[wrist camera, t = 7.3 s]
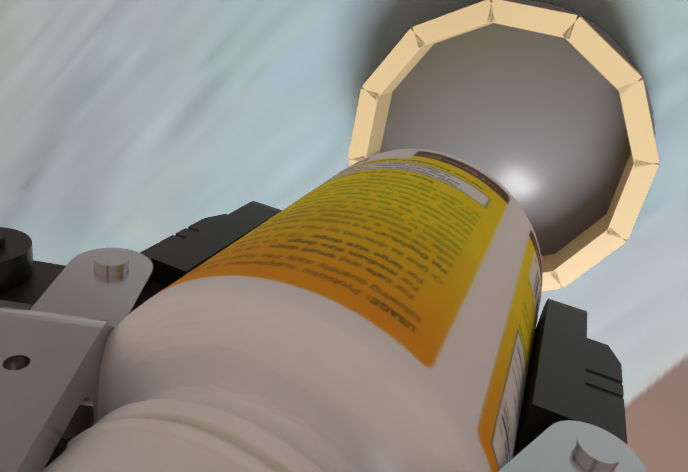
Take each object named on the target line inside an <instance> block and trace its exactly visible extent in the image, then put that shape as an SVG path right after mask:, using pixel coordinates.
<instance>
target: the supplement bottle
mask: <svg viewBox="0 0 688 472" xmlns="http://www.w3.org/2000/svg"><path fill="white" fill-rule="evenodd" d="M542 279H543V273H542V258H541V253H540V249H539V244H538V241H537V238H536V235H535V232H534V230H533V227H532V225H531V223H530V221H529V219H528V217H527V216H526V214H525V212H524V211H523V209H522V208H521V206H520V205H519V203H518V202H517V201H516V200H515V198H514V197H513V196H512V195H511V194H510V192H509V191H508V190H507V189H506V188H505V187H504V186H503V185H502V184H500V183H499V182H498V181H497V180H496V179H494V178H493V177H492V176H491V175H489V174H488V173H487V172H485V171H484V170H482V169H480V168H479V167H477V166H475V165H474V164H471V163H469V162H467V161H465V160H463V159H461V158H458V157H455V156H452V155H450V154H446V153H443V152H439V151H433V150H427V149H398V150H392V151H387V152H383V153H379V154H375V155H372V156H370V157H368V158H365V159H363V160H361V161H358V162H357V163H355V164H353V165H351V166H350V167H348V168H346V169H345V170H343V171H341V172H340V173H338V174H337V175H335V176H334V177H332V178H331V179H329V180H328V181H326V182H325V183H323V184H322V185H320V186H319V187H317V188H316V189H314V190H313V191H311V192H310V193H308V194H306V195H305V196H303V197H302V198H300V199H299V200H298V201H296V202H294V203H293V204H292V205H290V206H289V207H287V208H286V209H284V210H282V211H281V212H279V213H278V214H276V215H274V216H273V217H271V218H270V219H268V220H267V221H266V222H264V223H263V224H261V225H260V226H258V227H257V228H255V229H253V230H252V231H250V232H249V233H247V234H246V235H245V236H243V237H242V238H240V239H239V240H237V241H236V242H234V243H233V244H231V245H229V246H228V247H227V248H225V249H224V250H222V251H221V252H219V253H218V254H216V255H215V256H213V257H212V258H210V259H209V260H207V261H206V262H204V263H203V264H201V265H200V266H198V267H197V268H195V269H194V270H192V271H190V272H189V273H187V274H186V275H185V276H183V277H182V278H180V279H179V280H177V281H176V282H174V283H173V284H171V285H169V286H168V287H166V288H165V289H163V290H162V291H160V292H158V293H157V294H155V295H154V296H153V297H151V298H150V299H148V300H147V301H146V302H144V303H143V304H142V305H140V306H139V307H138V308H136V309H135V310H134V311H132V312H131V313H130V314H128V315H127V316H126V317H125V318H124V319H123V320H122V321H121V322H120V323H119V324H118V325H117V326H116V327H115V328H114V329H113V330H112V332H111V333H110V335H109V337H108V340H107V342H106V346H105V350H104V353H103V358H102V364H101V370H100V378H99V390H98V422H97V423H96V424H94V425H93V426H92V427H91V428H89V429H87V430H85V431H83V432H81V433H80V434H79V435H77V436H76V437H74V438H73V439H71V440H70V441H69V442H68V443H67V448H66V450H65V451H64V452H63V453H62V454H61V455H60V456H59V457H57V458H56V459H55V460H54V461H53V462H52V463H50V464H49V465H48V466H47V467H46V468H45V469H44V470H43V472H498V471H499V470H500V469H501V468H503V467H504V466H505V465H506V464H507V463H508V462H509V461H511V460H512V459H513V455H514V449H515V443H516V438H517V432H518V426H519V421H520V416H521V409H522V404H523V399H524V393H525V387H526V381H527V376H528V370H529V363H530V358H531V353H532V347H533V341H534V337H535V330H536V323H537V319H538V311H539V305H540V300H541V290H542Z"/></svg>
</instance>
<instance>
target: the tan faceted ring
mask: <svg viewBox="0 0 688 472" xmlns="http://www.w3.org/2000/svg"><path fill="white" fill-rule="evenodd" d="M362 87H363V88H362V89H361V91H360V96H359V101H358V107H357V112H356V117H355V123H354V128H353V133H352V139H351V144H350V149H349V155H348V158H350V159H349V160H348V162H349V165H350V166H351V165H353V164H355V163H357V162H358V161H361V160H363V159H365V158H368V157H370V156H372V155H375V154H379V153H383V152H387V151H392V150H398V149H427V150H433V151H439V152H443V153H446V154H450V155H452V156H455V157H458V158H461V159H463V160H465V161H467V162H469V163H471V164H474V165H475V166H477V167H479V168H480V169H482V170H484V171H485V172H487V173H488V174H489V175H491V176H492V177H493V178H494V179H496V180H497V181H498V182H499V183H500V184H502V185H503V186H504V187H505V188H506V189H507V190H508V191H509V192H510V194H511V195H512V196H513V197H514V198H515V200H516V201H517V202H518V203H519V205H520V206H521V208H522V209H523V211H524V212H525V214H526V216H527V217H528V219H529V221H530V223H531V225H532V227H533V230H534V232H535V235H536V238H537V241H538V244H539V249H540V253H541V258H542V273H543V279H542V290H541V291H548V290H555V289H561V286H562V287H563V288H564V287H565V286H567V285H568V284H569V283H571V282H572V281H573V280H575V279H576V278H578V277H579V276H580V275H582V274H583V273H584V272H586V271H587V270H588V269H590V268H591V267H593V266H594V265H595V264H597V263H598V262H599V261H601V260H602V259H604V258H605V257H606V256H608V255H609V254H610V253H612V252H613V251H614V250H616V249H617V248H619V247H620V246H621V245H623V244H624V243H625V242H626V239H627V240H628V238H629V236H630V233H631V231H632V229H633V226H634V224H635V221H636V219H637V217H638V214H639V212H640V210H641V207H642V205H643V202H644V200H645V198H646V195H647V193H648V190H649V188H650V186H651V183H652V181H653V179H654V176H655V174H656V171H657V169H658V167H659V164H658V163H659V158H658V153H657V148H656V143H655V127H654V118H653V111H652V107H651V104H650V100H649V96H648V93H647V90H646V88H645V86H644V81H643V79H642V77H641V75H640V74H639V73H638V71H637V69H636V68H635V66H634V65H633V63H632V62H631V60H630V59H629V57H628V55H627V54H626V53H625V52H624V51H623V50H622V48H621V47H620V46H619V45H618V44H617V43H616V42H615V41H614V39H613V38H611V37H610V36H609V35H608V34H607V33H606V32H604V31H603V30H602V29H601V28H600V27H598V26H597V25H595V24H594V23H592V22H591V21H589V20H587V19H586V18H584V17H582V16H581V15H579V14H576V13H574V12H572V11H569V10H567V9H565V8H562V7H559V6H556V5H552V4H548V3H544V2H540V1H532V0H485V1H482V2H478V3H474V4H471V5H468V6H464V7H461V8H458V9H456V10H453V11H451V12H449V13H447V14H444V15H442V16H440V17H438V18H435V19H433V20H430V21H427V22H424V23H422V24H419V25H416V26H413V28H410V29H409V31H408V32H407V33H406V34H405V35H404V37H403V38H402V39H401V40H400V41H399V43H398V44H397V45H396V46H395V47H394V49H393V50H392V51H391V52H390V53H389V55H388V56H387V57H386V58H385V59H384V61H383V62H382V63H381V64H380V65H379V67H378V68H377V69H376V70H375V71H374V73H373V74H372V75H371V76H370V77H369V79H368V80H367V81H366V82H365V83H364V85H363V86H362Z"/></svg>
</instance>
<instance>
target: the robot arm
mask: <svg viewBox="0 0 688 472" xmlns="http://www.w3.org/2000/svg"><path fill="white" fill-rule="evenodd" d="M281 211H282V210H279V209H276V208H273V207H270V206H267V205H264V204H261V203H258V202H255V201H252V202H250V203H248V204H246V205H244V206H243V207H241V208H239V209H237V210H235V211H234V212H232V213H230V214H228V215H227V214H223V215H218V216H213V217H208V218H204V219H202V220H200V221H198V222H196V223H194V224H193V225H191V226H189V227H188V229H186V228H185V229H183V230H181V231H180V232H178V233H176V235H175V236H174V235H172V236H170V237H168V238H166V239H165V240H163V241H161V242H159V243H157V244H155V245H153V246H152V247H150V248H148V249H146V250H144V251H142V252H140V253H138V252H136V251H132V250H128V249H121V248H101V249H95V250H90V251H87V252H84V253H82V254H79V255H77V256H76V257H74V258H73V259H72V260H71V261H70V262H69V263H68V265H67V266H64V265H58V264H52V263H46V262H40V261H34V260H33V254H32V241H31V238H30V237H29V236H28V235H26V234H25V233H23V232H21V231H18V230H15V229H10V228H3V227H0V472H43V470H44V469H45V468H46V467H47V466H48V465H49V464H50V463H52V462H53V461H54V460H55V459H56V458H57V457H59V456H60V455H61V454H62V453H63V452H64V451H65V450H66V448H67V443H68V442H69V441H70V440H71V439H73V438H74V437H76V436H77V435H79V434H80V433H81V432H83V431H85V430H87V429H89V428H91V427H92V426H93V425H94V424H96V423H97V422H98V390H99V378H100V370H101V364H102V358H103V353H104V350H105V346H106V342H107V340H108V337H109V335H110V333H111V332H112V330H113V329H114V328H115V327H116V326H117V325H118V324H119V323H120V322H121V321H122V320H123V319H124V318H125V317H126V316H127V315H128V314H130V313H131V312H132V311H134V310H135V309H136V308H138V307H139V306H140V305H142V304H143V303H144V302H146V301H147V300H148V299H150V298H151V297H153V296H154V295H155V294H157V293H158V292H160V291H162V290H163V289H165V288H166V287H168V286H169V285H171V284H173V283H174V282H176V281H177V280H179V279H180V278H182V277H183V276H185V275H186V274H187V273H189V272H190V271H192V270H194V269H195V268H197V267H198V266H200V265H201V264H203V263H204V262H206V261H207V260H209V259H210V258H212V257H213V256H215V255H216V254H218V253H219V252H221V251H222V250H224V249H225V248H227V247H228V246H229V245H231V244H233V243H234V242H236V241H237V240H239V239H240V238H242V237H243V236H245V235H246V234H247V233H249V232H250V231H252V230H253V229H255V228H257V227H258V226H260V225H261V224H263V223H264V222H266V221H267V220H268V219H270V218H271V217H273V216H274V215H276V214H278V213H279V212H281ZM623 396H624V395H623V385H622V369H621V363H620V362H619V360H618V359H617V357H616V356H615V355H614V353H613V352H612V350H611V349H610V347H609V346H608V345H606V344H603V343H600V342H597V341H594V340H591V339H588V338H587V311H584V310H581V309H578V308H575V307H572V306H569V305H566V304H563V303H560V302H557V301H554V300H551V299H548V300H547V301H546V304H545V306H544V308H543V311H542V314H541V316H540V319H539V322H538V324H537V327H536V330H535V337H534V341H533V347H532V353H531V358H530V363H529V370H528V376H527V381H526V387H525V393H524V399H523V404H522V409H521V416H520V421H519V426H518V432H517V438H516V443H515V449H514V455H513V459H512V460H511V461H509V462H508V463H507V464H506V465H505V466H504V467H503V468H501V469H500V470H499V471H498V472H647V471H646V468H645V466H644V464H643V462H642V461H641V459H640V458H639V457H638V455H637V454H636V453H635V452H634V451H633V450H632V449H631V448H630V447H629V446H628V445H627V435H626V421H625V408H624V399H623Z"/></svg>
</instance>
